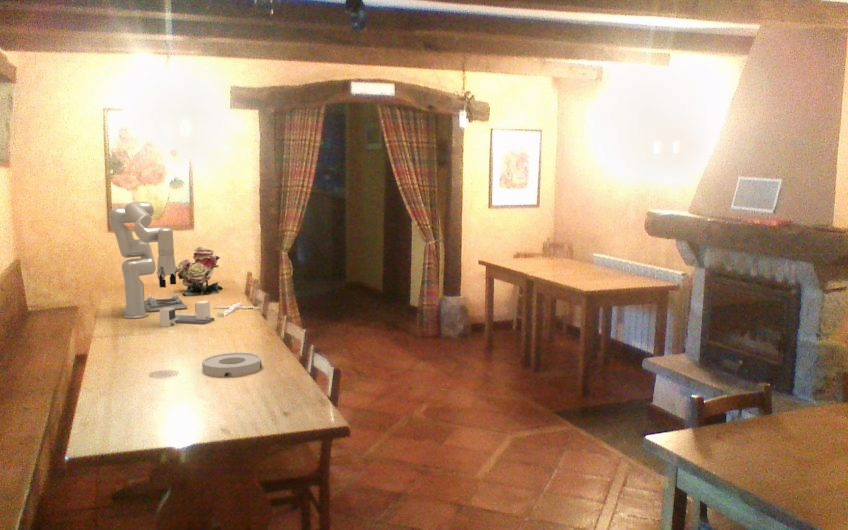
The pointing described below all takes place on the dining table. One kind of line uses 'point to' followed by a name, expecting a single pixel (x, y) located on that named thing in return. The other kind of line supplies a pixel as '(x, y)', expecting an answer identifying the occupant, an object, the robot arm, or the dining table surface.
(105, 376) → the dining table surface
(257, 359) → the ashtray
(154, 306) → the grey tray
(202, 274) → the rose bouquet
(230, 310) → the articulated figure
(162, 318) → the cream rectangular block
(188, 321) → the rail board
